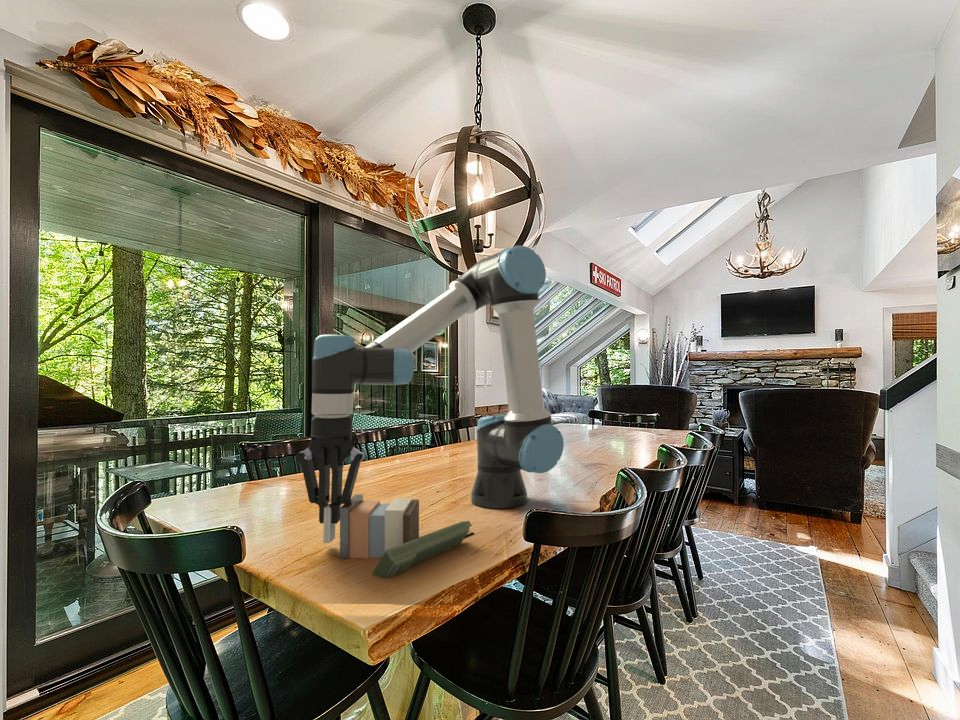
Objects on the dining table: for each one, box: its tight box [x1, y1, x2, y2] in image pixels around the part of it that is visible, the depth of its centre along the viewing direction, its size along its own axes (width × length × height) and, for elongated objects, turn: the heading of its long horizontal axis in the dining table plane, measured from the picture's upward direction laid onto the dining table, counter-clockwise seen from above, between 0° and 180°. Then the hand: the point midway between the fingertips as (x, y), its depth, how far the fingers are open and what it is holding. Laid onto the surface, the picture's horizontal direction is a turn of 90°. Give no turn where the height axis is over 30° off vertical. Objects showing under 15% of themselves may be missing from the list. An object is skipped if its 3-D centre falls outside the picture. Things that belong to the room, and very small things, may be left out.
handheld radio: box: [372, 520, 476, 578], centre depth 82 cm, size 7×3×25 cm
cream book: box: [385, 497, 413, 551], centre depth 84 cm, size 4×8×8 cm, turn 179°
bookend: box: [339, 493, 364, 560], centre depth 85 cm, size 2×9×9 cm, turn 178°
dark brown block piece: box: [403, 498, 420, 544], centre depth 85 cm, size 21×10×9 cm, turn 88°
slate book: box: [369, 503, 390, 558], centre depth 84 cm, size 3×8×8 cm, turn 178°
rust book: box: [348, 500, 381, 559], centre depth 85 cm, size 4×8×8 cm, turn 179°
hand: (329, 540), depth 85 cm, fingers closed
